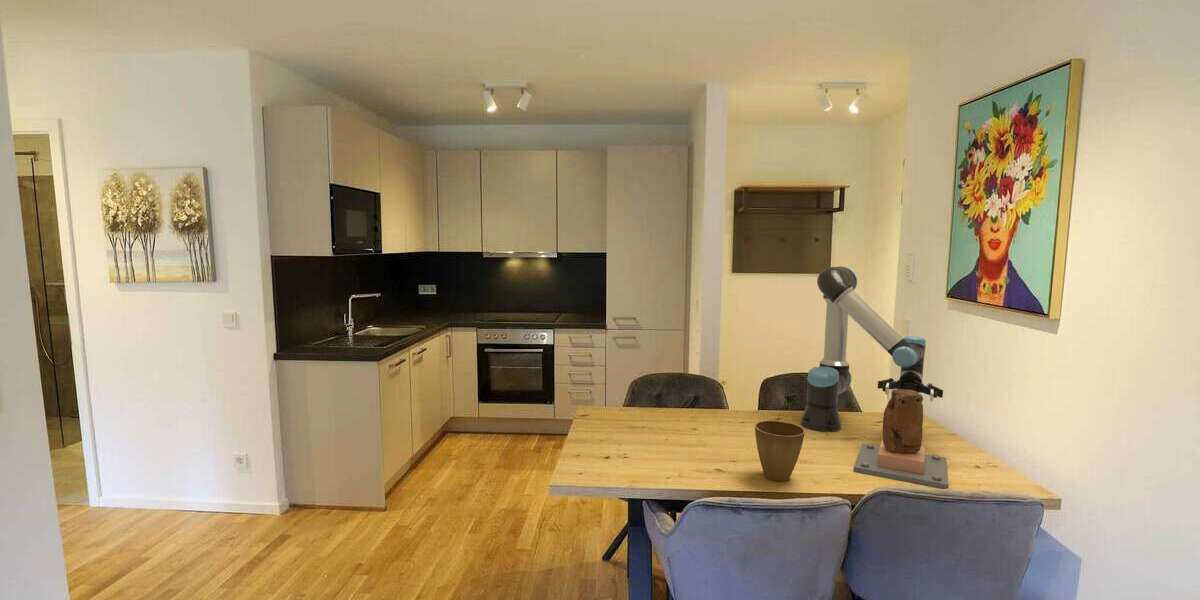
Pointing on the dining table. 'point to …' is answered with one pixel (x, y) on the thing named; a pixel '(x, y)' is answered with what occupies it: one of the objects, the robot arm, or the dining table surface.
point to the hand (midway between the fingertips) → (908, 393)
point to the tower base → (903, 474)
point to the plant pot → (778, 448)
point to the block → (903, 422)
